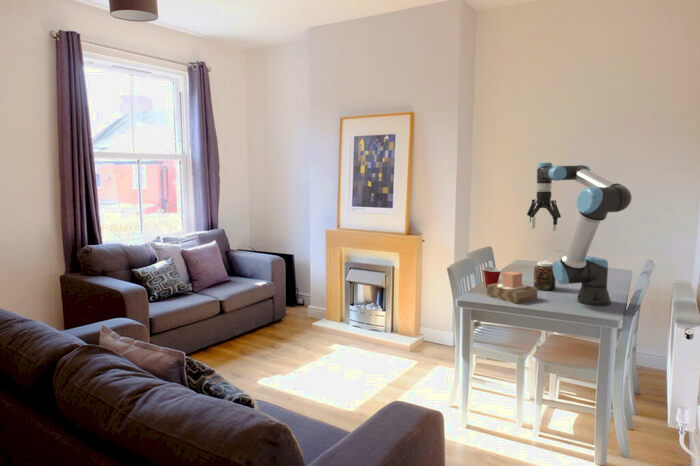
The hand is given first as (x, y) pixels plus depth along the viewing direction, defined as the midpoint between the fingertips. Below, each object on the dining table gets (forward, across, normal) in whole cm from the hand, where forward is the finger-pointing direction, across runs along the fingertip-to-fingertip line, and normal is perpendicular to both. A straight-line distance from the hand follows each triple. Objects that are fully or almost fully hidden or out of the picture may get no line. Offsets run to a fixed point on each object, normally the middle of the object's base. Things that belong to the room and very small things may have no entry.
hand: (543, 229), depth 270 cm
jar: (+35, +3, -6) cm, 36 cm away
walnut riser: (+35, 0, +24) cm, 42 cm away
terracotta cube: (+28, 0, +24) cm, 37 cm away
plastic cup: (+35, +20, +18) cm, 44 cm away
